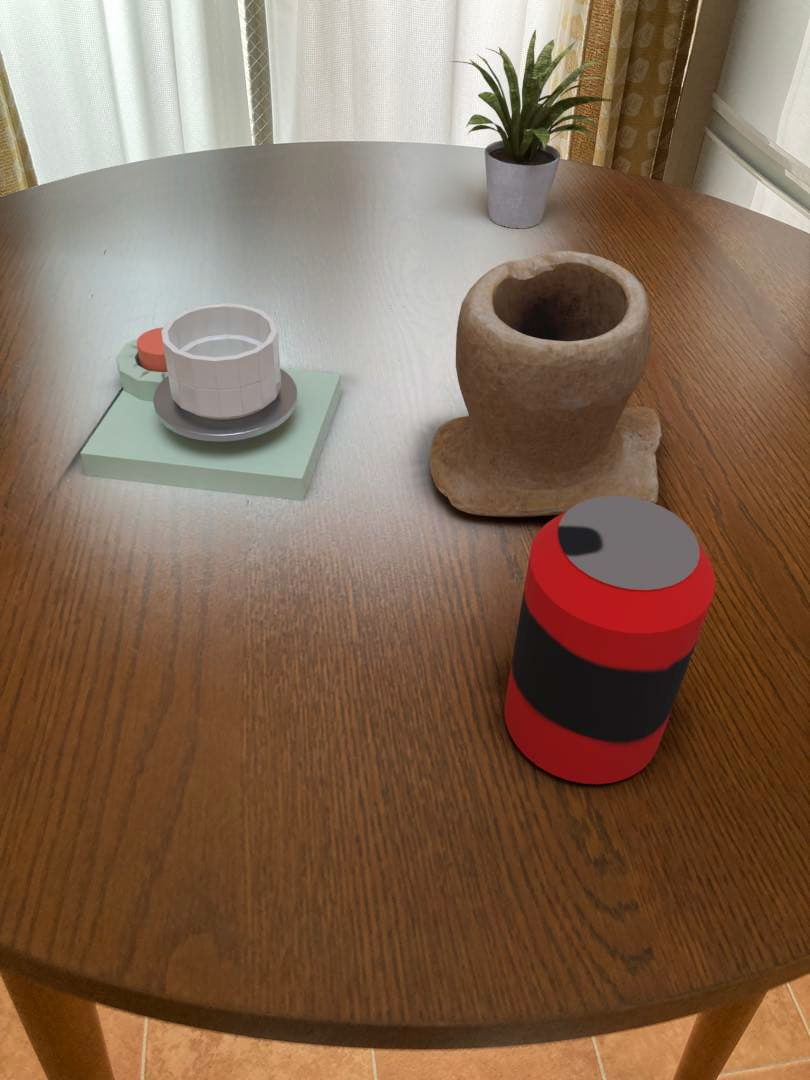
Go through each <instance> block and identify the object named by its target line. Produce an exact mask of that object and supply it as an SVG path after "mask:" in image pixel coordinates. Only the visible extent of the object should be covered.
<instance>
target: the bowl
mask: <svg viewBox="0 0 810 1080" xmlns="http://www.w3.org/2000/svg"><path fill="white" fill-rule="evenodd" d="M276 323H277V322H276V321H275V319H274V318H273V317H272V316H271V315H269V314H268V313H267V312H265V310H262V309H259V308H256V307H254V306H250V305H247V304H239V303H229V302H221V303H210V304H202V305H199V306H195V307H192V308H188V309H185V310H182V311H180V312H179V313H178V314H176V315H174V316H173V317H171V318H169V319H168V320H167V322H166V323H165V325H164V326H163V327H164V328H163V329H162V331H161V332H162V341H163V347H164V353H165V359H166V365H167V372H168V378H169V384H170V390H171V396H172V399H173V400H174V401H175V402H176V403H177V404H178V405H179V406H180V407H181V408H182V409H184V410H187V411H189V412H190V413H192V414H194V415H196V416H199V417H202V418H206V419H212V420H233V419H239V418H243V417H247V416H250V415H252V414H255V413H257V412H259V411H261V410H262V409H263V408H265V407H266V406H267V405H268V404H270V403H271V402H272V401H273V400H275V399H276V397H277V395H278V393H279V390H280V388H281V371H280V368H281V359H280V358H281V357H280V345H279V344H280V343H279V330H278V327H277V324H276Z"/></svg>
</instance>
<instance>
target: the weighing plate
mask: <svg viewBox="0 0 810 1080" xmlns="http://www.w3.org/2000/svg"><path fill="white" fill-rule="evenodd" d="M281 368H282V367H280V371H281V388H280V390H279V393H278V395H277V397H276V399H275V400H273V401H272V402H271V403H270V404H268V405H267V406H266V407H265V408H263V409H262V410H261V411H259V412H257V413H255V414H252V415H250V416H247V417H243V418H239V419H233V420H212V419H206V418H202V417H199V416H196V415H194V414H192V413H190V412H189V411H187V410H184V409H182V408H181V407H180V406H179V405H178V404H177V403H176V402H175V401H174V400H173V399H172V396H171V390H170V384H169V378H168V376H167V377H165V378H164V379H163V380H162V381H161V383H160V384H159V385H158V386H157V388H156V390H155V393H154V397H153V404H154V409H155V413H156V415H157V417H158V419H159V420H160V421H161V422H162V423H163V424H164V425H165V426H166V427H167V428H169V429H170V430H172V431H173V432H176V433H178V434H180V435H183V436H185V437H189V438H193V439H197V440H204V441H235V440H242V439H247V438H251V437H255V436H258V435H261V434H263V433H266V432H268V431H270V430H272V429H274V428H276V427H278V426H279V425H280V424H282V423H283V422H284V421H285V420H287V419H288V418H289V417H290V415H291V414H292V413H293V411H294V409H295V407H296V404H297V388H296V385H295V382H294V381H293V379H292V378H291V377H290V376H289V375H288V374H287V373H286V372H285V371H284V370H282V369H281Z"/></svg>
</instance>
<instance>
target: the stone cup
mask: <svg viewBox="0 0 810 1080" xmlns="http://www.w3.org/2000/svg"><path fill="white" fill-rule="evenodd" d="M651 347H652V315H651V308H650V302H649V298H648V295H647V292H646V290H645V288H644V285H643V284H642V283H641V282H640V280H638V279H637V277H636V276H635V275H634V274H632V273H631V272H630V271H629V270H628V269H626V268H624V267H623V266H621V265H619V264H617V262H614V261H613V260H609V259H607V258H604V257H602V256H599V255H595V254H592V253H587V252H579V251H574V250H556V251H549V252H545V253H541V254H538V255H535V256H532V257H528V258H524V259H519V260H508V261H506V262H503V263H501V264H498V265H496V266H495V267H492V268H491V269H490V270H488V271H487V272H486V273H485V274H483V275H481V276H480V278H478V280H477V281H476V282H475V283H473V285H472V286H471V287H470V288H469V289H468V291H467V293H466V295H465V297H464V298H463V300H462V302H461V305H460V309H459V314H458V318H457V324H456V334H455V370H456V376H457V382H458V386H459V390H460V393H461V396H462V399H463V402H464V406H465V408H466V410H467V413H468V415H465V416H459V417H455V418H453V419H450V420H447V421H445V422H444V423H442V424H441V425H440V426H439V427H438V428H437V429H436V430H435V433H434V434H433V436H432V440H431V443H430V447H429V459H428V460H429V461H428V463H429V469H430V474H431V477H432V480H433V482H434V485H435V487H436V488H437V490H438V491H439V492H440V493H441V494H442V495H444V496H445V497H446V498H447V499H448V501H449V503H450V505H451V506H452V507H454V508H455V509H457V510H459V511H461V512H464V513H467V514H470V515H475V516H486V517H497V518H524V517H525V518H527V517H528V518H529V517H542V516H543V517H544V516H559V515H561V514H563V513H564V512H566V511H568V510H569V509H570V508H572V507H573V506H575V505H576V504H578V503H580V502H582V501H585V500H587V499H591V498H596V497H601V496H627V497H633V498H638V499H642V500H645V501H649V502H652V503H654V504H657V502H658V499H659V489H660V488H659V487H660V485H659V477H658V465H657V456H656V453H657V452H658V449H659V447H660V442H661V438H662V436H663V433H662V426H661V425H662V424H661V421H660V419H659V415H658V413H657V412H656V410H655V409H653V408H652V407H649V406H632V407H629V406H627V405H628V403H629V401H630V399H631V397H632V395H633V393H634V391H635V390H636V388H637V386H638V385H639V383H640V381H641V379H642V376H643V374H644V371H645V370H646V367H647V365H648V361H649V358H650V353H651ZM626 406H627V407H626Z"/></svg>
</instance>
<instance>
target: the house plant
mask: <svg viewBox="0 0 810 1080" xmlns="http://www.w3.org/2000/svg"><path fill="white" fill-rule="evenodd" d="M537 29H538V27H537V28H535V30H534V31H533V33H532V35H531V38H530V40H529V45H528V48H527V53H526V59H525V66H524V72H523V79H522V87H521V93H520V85H519V79H518V75H517V72H516V69H515V67H514V65H513V62H512V61H511V58H510V57H509V56H508V54H507V53H505V51H504V50H503V49H502V48H501V47H500V46H498V51H499V52H498V51H497V50H494V49H491V48H487V47H485V49H486V50H489V51H492V52H494V53H496V54H498V55H499V56H500V57H501V59H502V65H503V71H504V74H505V77H506V80H507V85H508V91H509V92H508V94H509V102H510V103H509V104H510V110H511V113H510V111H509V107H508V103H507V100H506V96H505V92H504V89H503V87H502V84H501V82H500V79H499V78H498V76H497V75H496V73H495V72H494V70H493V69H492V67H491V66H490V64H489V63H488V61H487V60H486V58H483V57H482V56H481V55H479V54H478V53H476V56H478V57H479V58H480V59H481V60H482V61H483V62H484V63H485V64H486V66H487V67H488V69H489V71H490V73H491V74H492V76H493V77H494V78H493V77H492V76H491V75H490V74H489V72H488V71H487V70H485V69H484V68H483V67H481V65H479V64H478V63H476V62H474V61H473V60H472V59H470V58H469V59H468V60H469V61H470V62H469V61H461V60H460V61H459V60H456V61H455V60H452V61H448V62H450V63H462V64H467V65H472V66H473V67H475V68H476V69H477V70H478V71H479V72H480V74H481V76H482V77H483V80H484V81H485V82H486V84H487V85H488V86H489V88H490V89H491V91H492V92H491V91H483V92H481V93H478V95H477V96H478V98H480V100H482V101H483V102H485V104H487V105H488V106H489V107H490V108H491V109H492V110H493V111H495V113H496V115H497V117H498V118H499V121H500V122H501V124H502V126H503V128H502V126H500V125H499V124H497V123H495V122H493V121H492V120H491V119H490V118H488V117H486V116H484V115H482V114H477V113H476V114H473V115H472V116H471V117H470V118H469V120H468V122H467V124H466V125H465V128H467V127H468V126H470V125H473V127H472V128H471V129H470V130H469V131H468V133H467V134H470V133H471V132H475V131H480V130H493V131H495V132H497V133H498V134H499V136H500V138H501V140H497V141H494V142H492V143H489V144H488V145H487V146H486V147H485V148H484V162H485V163H484V164H485V177H486V192H487V193H486V195H487V207H488V208H487V209H488V218H489V217H490V218H489V220H490V219H491V220H492V221H491V220H490V221H491V222H492V223H494V222H495V223H494V224H496V225H498V226H501V225H502V226H501V227H504V226H505V228H508V227H509V229H517V228H519V229H530V228H533V226H534V227H536V226H538V225H539V223H541V222H542V220H543V217H544V214H545V210H546V207H547V204H548V200H549V197H550V194H551V191H552V187H553V183H554V180H555V177H556V173H557V170H558V167H559V163H560V162H561V161H560V160H561V152H560V151H559V150H558V149H557V148H555V146H552V145H549V143H550V142H551V141H552V140H553V139H555V138H556V137H557V136H558V135H560V134H561V133H562V132H570V131H573V132H583V133H585V134H587V135H590V137H591V138H593V136H592V134H591V132H590V131H589V130H588V128H587V126H585V125H582V124H578V122H581V121H583V122H587V123H590V124H591V125H593V126H594V127H595V128H596V129H597V130H599V128H598V127H597V125H596V123H595V122H596V121H597V122H598V121H599V120H598V119H594V118H591V117H588V116H586V115H582V114H569V115H566V116H564V117H561V116H562V115H563V113H565V112H567V111H568V110H570V109H571V108H574V107H577V106H581V105H587V104H590V103H596V102H608V103H609V102H610V103H611V102H618V100H617V99H612V98H606V97H601V96H593V95H592V96H590V95H581V96H579V95H578V96H569V97H566V98H562V99H560V98H559V97H562V96H563V95H564V94H566V93H567V92H570V91H571V90H574V89H577V88H583V89H590V86H586V85H584V84H576V85H574V86H571V84H573V83H575V82H579V81H583V80H599V79H604V80H605V79H607V77H599V76H587V77H586V76H585V77H581V78H579V77H580V75H581V74H582V73H583V72H584V71H585V70H586V69H588V68H589V67H591V66H593V65H594V64H596V63H598V62H601V61H602V60H605V59H607V58H606V57H605V58H597V59H593V60H591V61H588V62H586V63H584V64H581V65H580V66H579V67H577V68H576V69H575V70H574V71H573V72H571V73H570V74H569V75H568V76H567V77H566V78H565V79H564V80H563V81H562V82H561V83H559V84H558V85H557V87H556V88H555V90H553V91H552V93H551V94H548V95H547V94H546V95H544V96H542V93H543V89H544V87H545V85H546V84H547V82H548V80H549V79H550V77H551V76H552V74H553V72H554V71H555V69H556V68H557V66H558V65H559V64H560V63H561V60H563V58H564V57H565V56H566V55H567V54H568V53H569V52H570V51H571V49H572V48H573V47H574V45H575V44H576V43H577V42H578V40H577V41H575V42H573V43H572V44H570V45H569V46H568V47H566V48H565V49H564V50H562V51H561V53H559V54H558V55H557V56H556V57H555V58H554V59H553V58H552V54H553V50H554V47H555V40H556V38H554V39H552V40H550V41H549V42H548V43H546V44H545V45H544V47H542V49H541V51H540V53H539V55H538V56H537V58H536V60H535V46H536V39H537ZM494 79H495V80H494ZM496 82H497V83H496ZM569 86H571V87H569ZM568 87H569V88H568ZM567 88H568V89H567ZM542 101H543V102H542ZM539 102H542V103H539ZM560 117H561V118H560ZM559 118H560V119H559ZM569 120H575V121H574V122H573V123H568V124H564V125H560V124H562V123H563V122H566V121H569ZM594 121H595V122H594ZM487 124H490V125H494V127H496V129H495V128H494V127H492V126H489V125H487ZM474 125H475V126H474ZM559 125H560V126H559ZM558 132H559V133H558ZM554 133H558V134H556V135H555V136H554V137H552V138H551V135H552V134H554ZM537 224H538V225H537ZM535 225H536V226H535ZM529 227H530V228H529Z"/></svg>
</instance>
